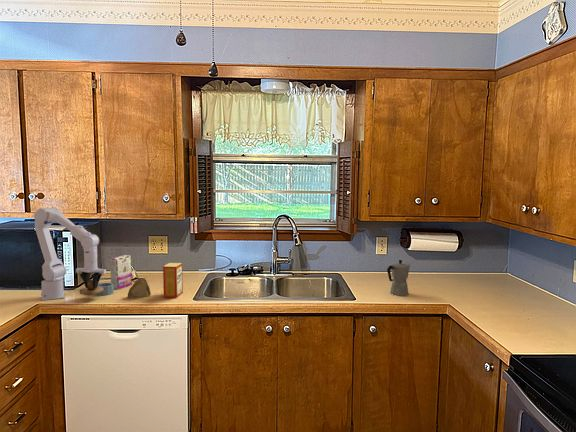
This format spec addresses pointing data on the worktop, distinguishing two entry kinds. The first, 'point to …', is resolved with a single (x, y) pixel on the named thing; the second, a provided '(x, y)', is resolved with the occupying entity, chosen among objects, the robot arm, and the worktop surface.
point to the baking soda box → (172, 280)
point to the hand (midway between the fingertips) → (91, 287)
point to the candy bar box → (121, 271)
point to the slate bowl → (106, 288)
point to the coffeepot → (399, 278)
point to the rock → (139, 289)
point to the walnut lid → (91, 289)
